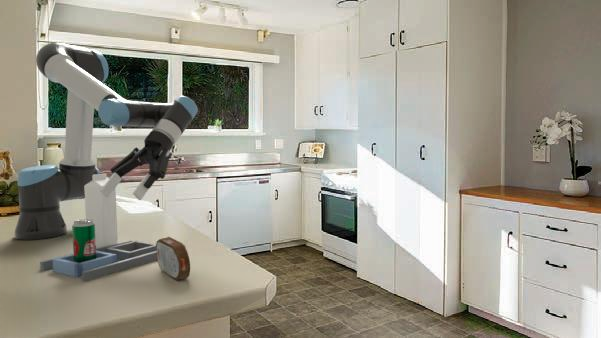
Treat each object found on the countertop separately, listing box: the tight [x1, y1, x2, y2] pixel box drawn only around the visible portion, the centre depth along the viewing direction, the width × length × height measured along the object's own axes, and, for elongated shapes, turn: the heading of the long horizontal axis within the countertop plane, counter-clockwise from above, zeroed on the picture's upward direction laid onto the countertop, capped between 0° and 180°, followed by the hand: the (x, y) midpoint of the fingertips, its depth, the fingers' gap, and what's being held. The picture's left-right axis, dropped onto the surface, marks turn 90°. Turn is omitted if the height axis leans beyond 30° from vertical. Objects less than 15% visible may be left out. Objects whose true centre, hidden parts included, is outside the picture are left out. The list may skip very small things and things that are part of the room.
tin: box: [155, 236, 191, 281], centre depth 102 cm, size 15×3×8 cm, turn 38°
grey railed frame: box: [39, 239, 157, 282], centre depth 114 cm, size 18×26×3 cm
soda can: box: [71, 218, 97, 263], centre depth 108 cm, size 5×5×12 cm
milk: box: [84, 173, 119, 248], centre depth 128 cm, size 6×6×22 cm
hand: (119, 195), depth 116 cm, fingers open, 13 cm apart
